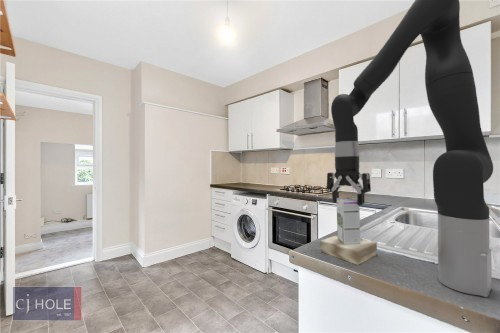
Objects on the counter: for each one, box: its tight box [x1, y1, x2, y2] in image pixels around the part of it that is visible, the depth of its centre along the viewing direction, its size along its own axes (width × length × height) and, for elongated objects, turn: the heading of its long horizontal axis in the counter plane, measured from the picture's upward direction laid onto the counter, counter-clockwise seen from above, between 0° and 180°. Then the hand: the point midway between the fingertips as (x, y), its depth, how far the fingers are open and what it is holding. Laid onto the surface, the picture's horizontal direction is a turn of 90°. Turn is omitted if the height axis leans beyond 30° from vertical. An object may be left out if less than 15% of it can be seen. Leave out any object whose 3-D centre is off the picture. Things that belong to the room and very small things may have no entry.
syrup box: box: [336, 196, 361, 244], centre depth 76 cm, size 6×6×14 cm
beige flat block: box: [320, 234, 378, 266], centre depth 76 cm, size 13×12×4 cm
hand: (347, 203), depth 76 cm, fingers open, 8 cm apart
